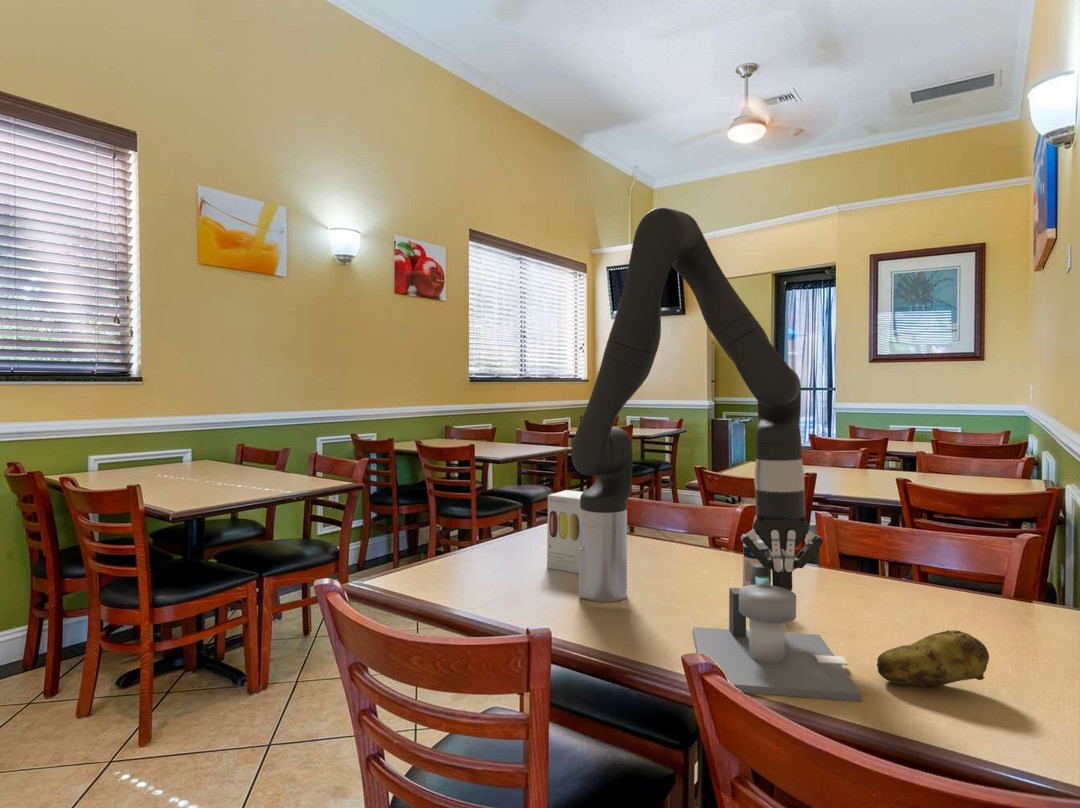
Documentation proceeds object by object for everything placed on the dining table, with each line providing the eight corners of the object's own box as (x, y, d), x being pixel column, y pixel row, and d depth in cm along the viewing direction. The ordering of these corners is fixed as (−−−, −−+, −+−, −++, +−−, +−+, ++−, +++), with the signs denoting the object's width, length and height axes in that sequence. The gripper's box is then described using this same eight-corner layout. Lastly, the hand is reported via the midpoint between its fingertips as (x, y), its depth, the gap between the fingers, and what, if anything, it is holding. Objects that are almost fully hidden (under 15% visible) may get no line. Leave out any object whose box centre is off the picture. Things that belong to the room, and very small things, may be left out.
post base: (703, 689, 85) (704, 631, 85) (692, 630, 106) (692, 583, 105) (869, 702, 82) (870, 641, 81) (824, 638, 102) (824, 590, 102)
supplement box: (545, 568, 143) (545, 494, 142) (565, 558, 151) (565, 489, 150) (582, 574, 138) (582, 498, 137) (601, 564, 146) (601, 492, 145)
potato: (880, 664, 93) (881, 611, 93) (986, 687, 86) (987, 629, 86) (875, 687, 86) (875, 629, 86) (990, 713, 79) (991, 650, 79)
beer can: (770, 608, 116) (771, 544, 116) (744, 606, 117) (744, 542, 117) (766, 599, 121) (767, 538, 121) (741, 598, 122) (741, 537, 122)
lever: (799, 662, 88) (799, 599, 88) (739, 656, 90) (740, 594, 90) (784, 618, 105) (785, 565, 105) (735, 613, 107) (735, 561, 107)
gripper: (740, 490, 99) (743, 599, 99) (829, 489, 97) (832, 601, 97) (734, 484, 107) (737, 585, 107) (816, 483, 104) (820, 587, 104)
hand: (782, 593), depth 102 cm, fingers closed
